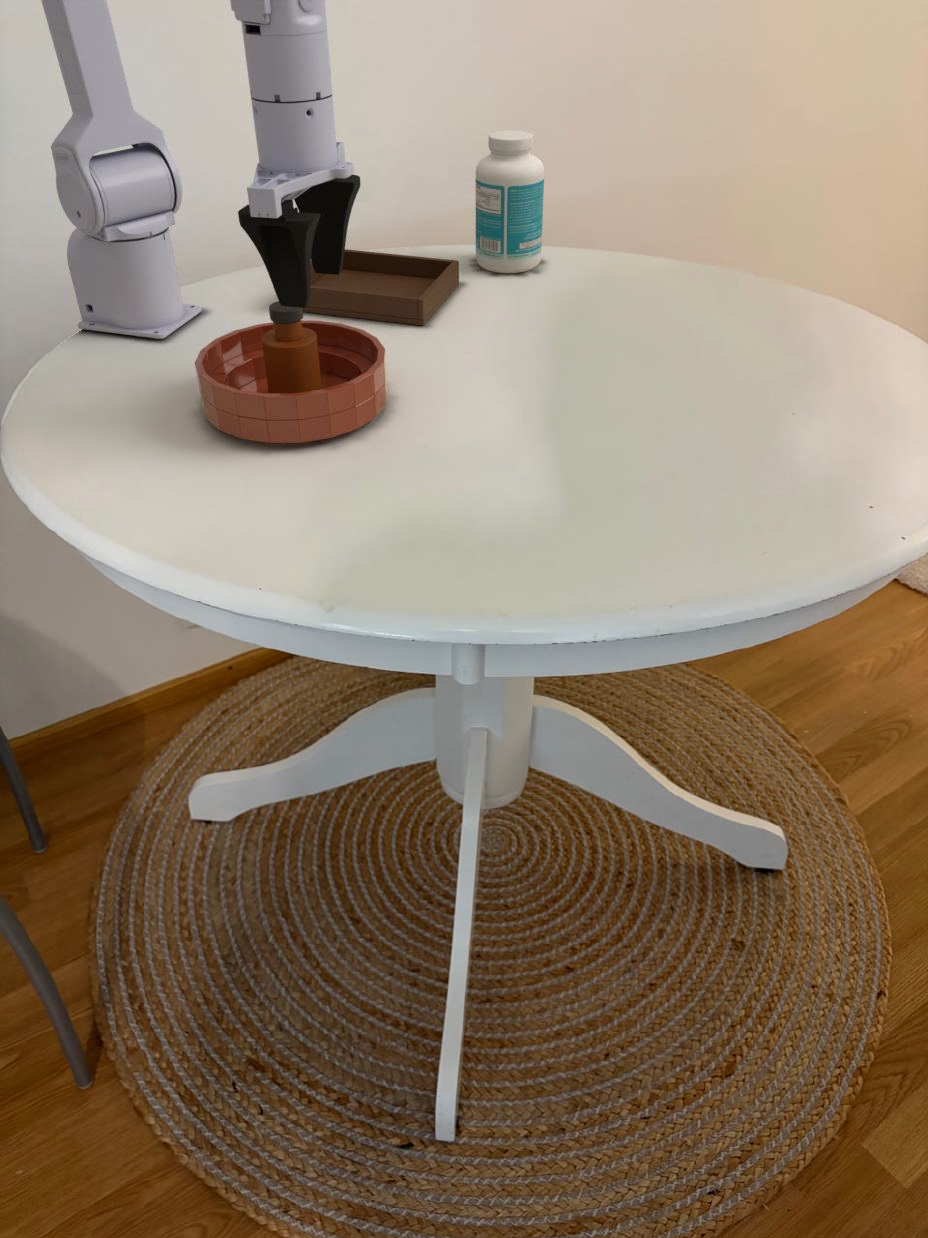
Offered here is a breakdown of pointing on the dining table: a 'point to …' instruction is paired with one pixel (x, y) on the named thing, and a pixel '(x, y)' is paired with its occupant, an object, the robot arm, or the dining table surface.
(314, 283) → the tray
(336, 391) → the bowl
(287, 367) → the bottle
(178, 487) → the dining table surface
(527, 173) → the pill bottle
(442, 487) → the dining table surface
